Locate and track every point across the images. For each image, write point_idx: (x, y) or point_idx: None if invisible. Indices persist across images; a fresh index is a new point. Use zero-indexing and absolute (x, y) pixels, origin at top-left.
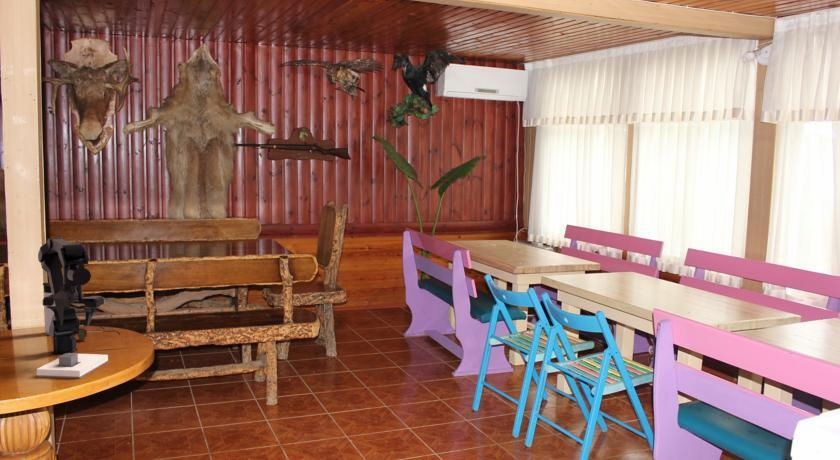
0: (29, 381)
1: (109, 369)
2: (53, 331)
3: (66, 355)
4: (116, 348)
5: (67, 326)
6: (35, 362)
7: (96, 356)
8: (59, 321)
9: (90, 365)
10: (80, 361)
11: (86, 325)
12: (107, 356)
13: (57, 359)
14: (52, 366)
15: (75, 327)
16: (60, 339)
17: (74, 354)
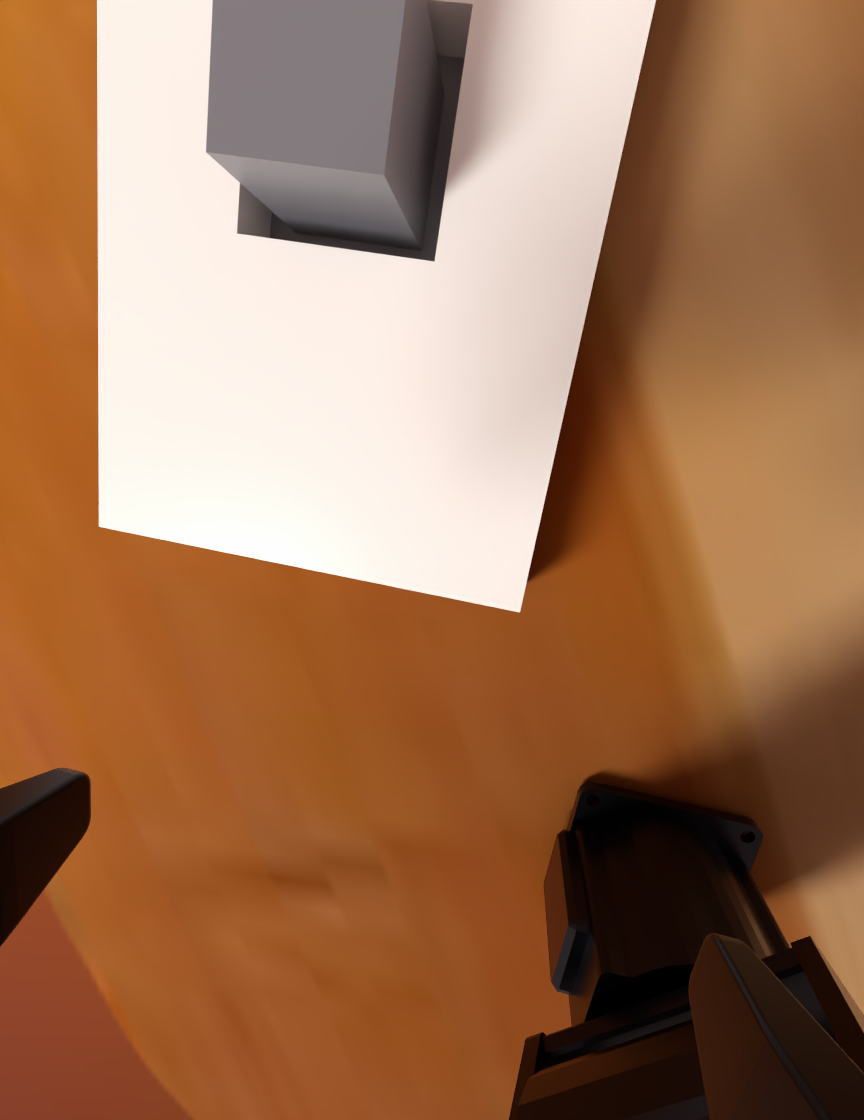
0: None
1: (32, 265)
2: (851, 1010)
3: (325, 36)
4: (247, 891)
5: (642, 1098)
6: (836, 545)
7: (177, 467)
8: (794, 1038)
9: (106, 130)
10: (258, 261)
11: (58, 778)
12: (111, 517)
13: (554, 356)
14: (510, 5)
15: (530, 1096)
16: (705, 930)
17: (230, 101)
